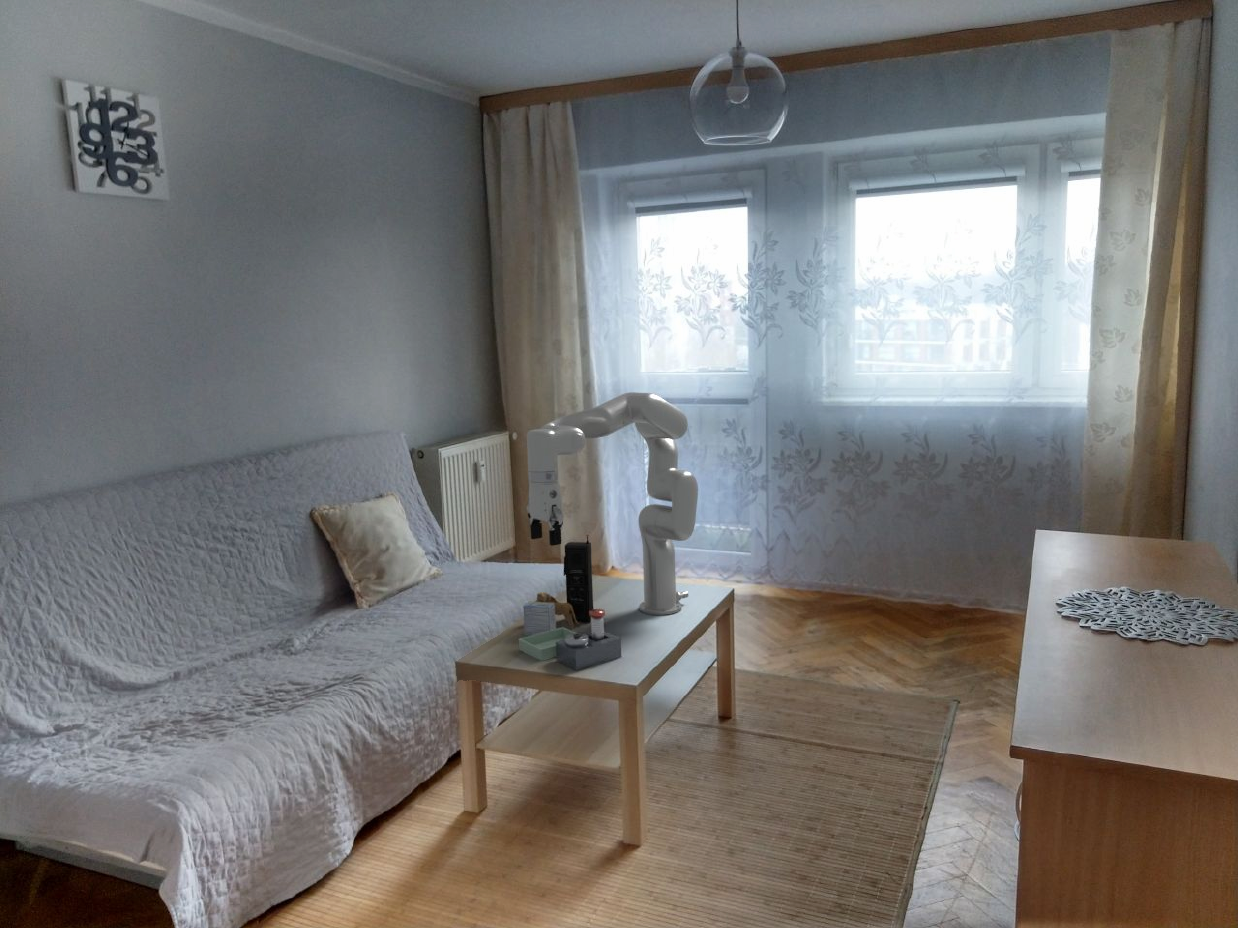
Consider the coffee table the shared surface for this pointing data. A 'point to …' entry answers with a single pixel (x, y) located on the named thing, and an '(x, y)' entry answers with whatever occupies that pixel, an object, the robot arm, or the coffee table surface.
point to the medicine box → (539, 617)
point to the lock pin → (597, 624)
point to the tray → (543, 643)
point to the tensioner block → (587, 650)
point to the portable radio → (579, 579)
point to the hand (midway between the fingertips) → (545, 541)
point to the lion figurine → (559, 608)
